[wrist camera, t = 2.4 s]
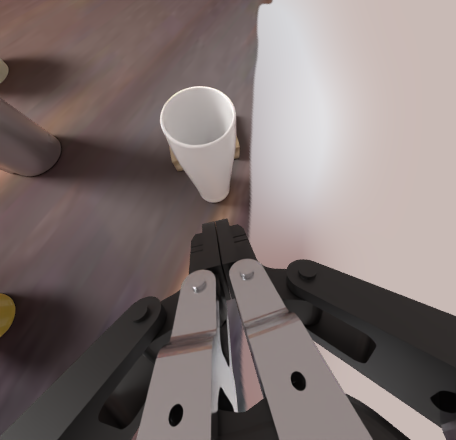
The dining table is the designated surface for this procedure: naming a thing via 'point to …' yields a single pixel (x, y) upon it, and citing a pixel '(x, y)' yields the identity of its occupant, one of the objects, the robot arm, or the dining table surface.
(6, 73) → the reusable coffee cup
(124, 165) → the dining table surface
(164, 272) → the dining table surface
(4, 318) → the plant pot
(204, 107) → the drinking glass
